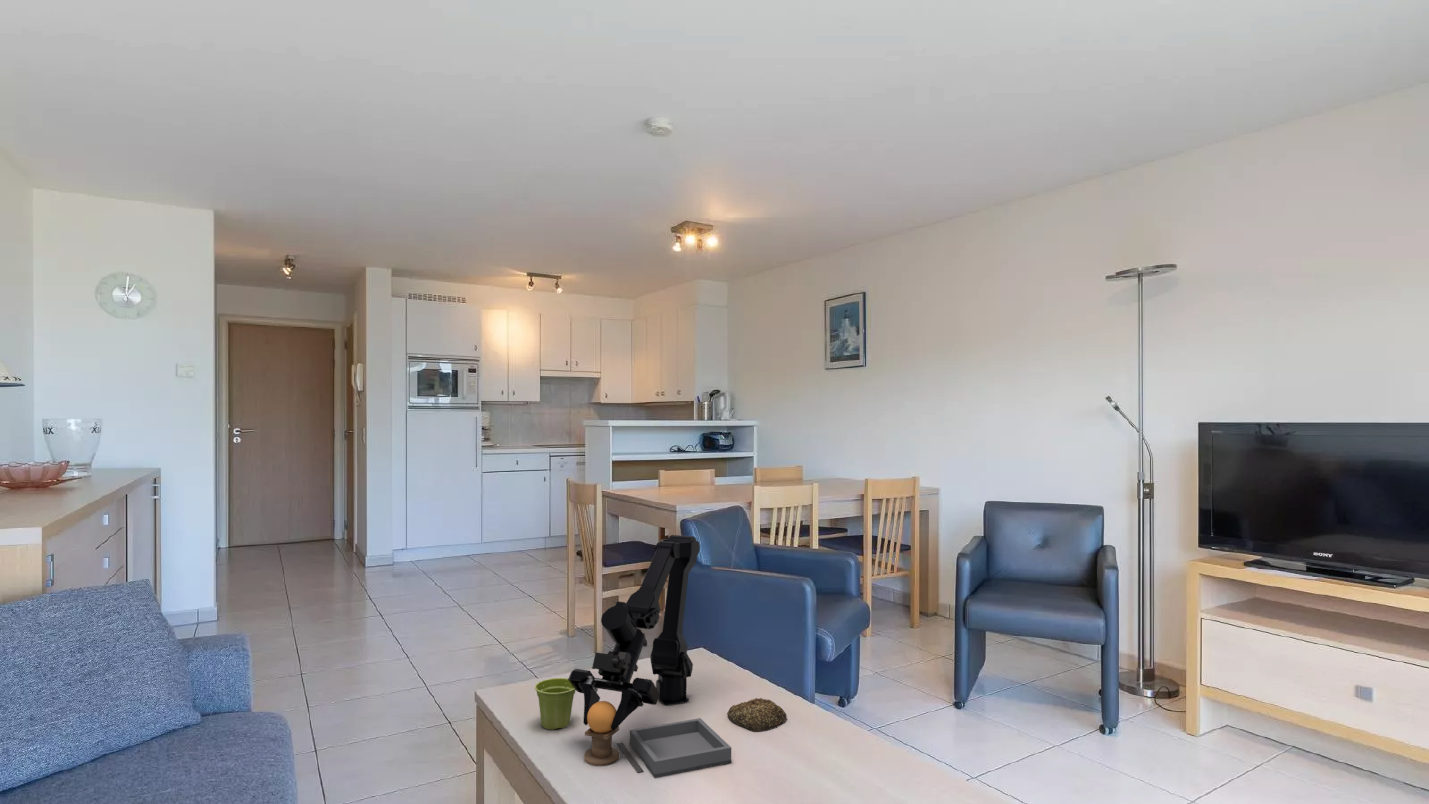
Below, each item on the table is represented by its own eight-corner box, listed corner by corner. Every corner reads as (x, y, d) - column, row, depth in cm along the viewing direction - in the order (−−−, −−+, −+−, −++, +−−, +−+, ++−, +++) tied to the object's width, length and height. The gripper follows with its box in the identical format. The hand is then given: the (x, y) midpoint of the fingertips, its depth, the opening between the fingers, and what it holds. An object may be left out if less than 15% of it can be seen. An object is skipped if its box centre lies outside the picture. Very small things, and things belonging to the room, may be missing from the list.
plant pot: (585, 719, 170) (585, 680, 170) (563, 736, 161) (564, 695, 161) (548, 713, 173) (549, 675, 173) (525, 729, 164) (526, 689, 164)
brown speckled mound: (751, 736, 162) (751, 713, 162) (720, 717, 173) (720, 695, 173) (797, 723, 169) (797, 701, 169) (765, 706, 180) (765, 685, 180)
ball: (612, 724, 155) (612, 694, 155) (620, 735, 149) (621, 705, 150) (583, 728, 152) (584, 699, 153) (591, 740, 147) (591, 709, 147)
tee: (595, 748, 155) (595, 720, 155) (625, 753, 153) (625, 725, 153) (577, 762, 149) (577, 733, 149) (608, 768, 146) (608, 738, 146)
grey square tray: (700, 732, 164) (700, 718, 164) (731, 762, 149) (731, 747, 149) (629, 744, 157) (629, 729, 157) (654, 777, 143) (654, 761, 143)
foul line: (622, 743, 158) (622, 742, 158) (643, 772, 145) (643, 771, 145) (616, 744, 157) (616, 743, 157) (637, 773, 144) (637, 772, 144)
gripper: (573, 630, 158) (542, 701, 148) (653, 640, 152) (627, 715, 141) (592, 656, 166) (564, 726, 155) (669, 667, 159) (645, 741, 148)
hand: (598, 726), depth 150 cm, fingers closed on ball, 6 cm apart
